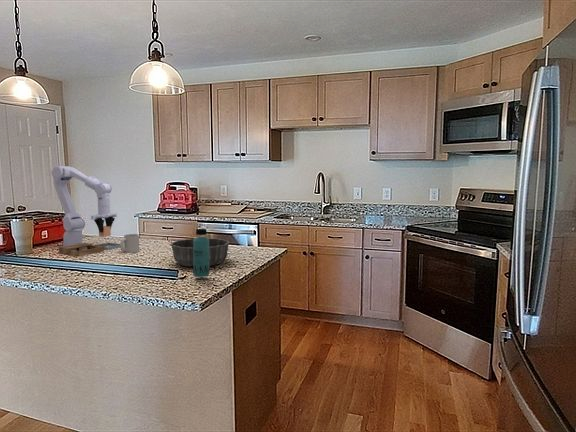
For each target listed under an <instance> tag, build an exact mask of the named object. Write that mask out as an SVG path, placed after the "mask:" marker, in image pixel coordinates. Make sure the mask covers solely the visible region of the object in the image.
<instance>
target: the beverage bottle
mask: <svg viewBox="0 0 576 432" xmlns="http://www.w3.org/2000/svg"><path fill="white" fill-rule="evenodd" d="M207 233H208V231H207V229H206V228H196V230H195V235H197V236H196V237H194V238H195V239H194V238H193V239H194V240H193V266H192V271H193V272H192V275H193V276H194V277H197V278H204V277H209V275H210V271H211V270H210V269H211V268H210V267H211V266H209V263H210V257H209V239H208V237H206V235H207Z"/></svg>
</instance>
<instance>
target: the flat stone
mask: <svg viewBox="0 0 576 432" xmlns="http://www.w3.org/2000/svg"><path fill="white" fill-rule="evenodd" d="M83 250H87V246H85V247H79V248H77V251H83Z"/></svg>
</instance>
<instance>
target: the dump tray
mask: <svg viewBox="0 0 576 432" xmlns="http://www.w3.org/2000/svg"><path fill="white" fill-rule="evenodd" d="M94 245H95V246H102V247H104V251H110V250H116V249H121V247H120V243H115V242H114V243H113V242H105V243H103V242H102V243H100V244H99V243H98V244H94Z"/></svg>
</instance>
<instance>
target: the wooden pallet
mask: <svg viewBox="0 0 576 432" xmlns="http://www.w3.org/2000/svg"><path fill="white" fill-rule="evenodd" d="M95 245H96V244H93V243H88V242H87V243H86V242H83V243H80V244H75V245H69V246H64V245H63V247H62V246H59V247H58V254H62V255H68V256H73V257H78V258H79V257H84V256H88V255H93V254H99V253H103V252H105V250H104V247H105V246H103V247H102V246H95ZM85 246H87V250H83V251H75V250H69V249H74V248H79V247H85Z"/></svg>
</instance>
